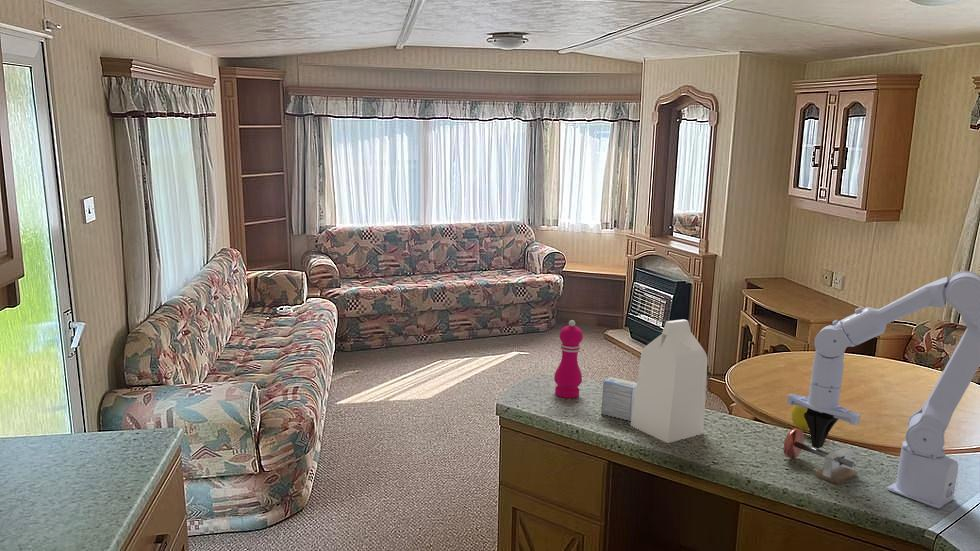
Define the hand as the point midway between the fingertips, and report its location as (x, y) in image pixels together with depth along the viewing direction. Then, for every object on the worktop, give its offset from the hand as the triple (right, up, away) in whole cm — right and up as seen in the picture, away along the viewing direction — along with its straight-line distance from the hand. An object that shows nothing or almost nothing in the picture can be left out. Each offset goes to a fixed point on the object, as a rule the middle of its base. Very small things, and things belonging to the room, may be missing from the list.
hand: (817, 446), depth 151 cm
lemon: (+6, -2, +22) cm, 22 cm away
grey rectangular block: (-37, +1, +25) cm, 45 cm away
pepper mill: (-48, +4, +39) cm, 62 cm away
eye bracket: (+3, -5, -3) cm, 6 cm away
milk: (-27, -1, +18) cm, 32 cm away
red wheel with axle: (0, -4, 0) cm, 4 cm away
